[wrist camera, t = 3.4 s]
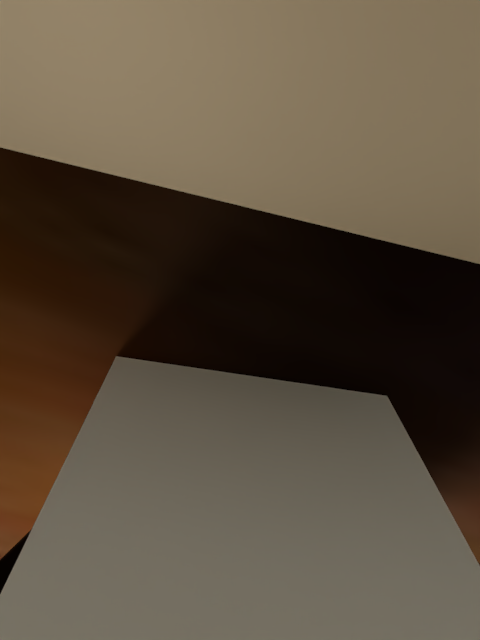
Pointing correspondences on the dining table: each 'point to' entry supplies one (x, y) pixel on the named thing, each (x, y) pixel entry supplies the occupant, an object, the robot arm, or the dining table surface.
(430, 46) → the oak block
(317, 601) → the off-white plain cube
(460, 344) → the dining table surface
